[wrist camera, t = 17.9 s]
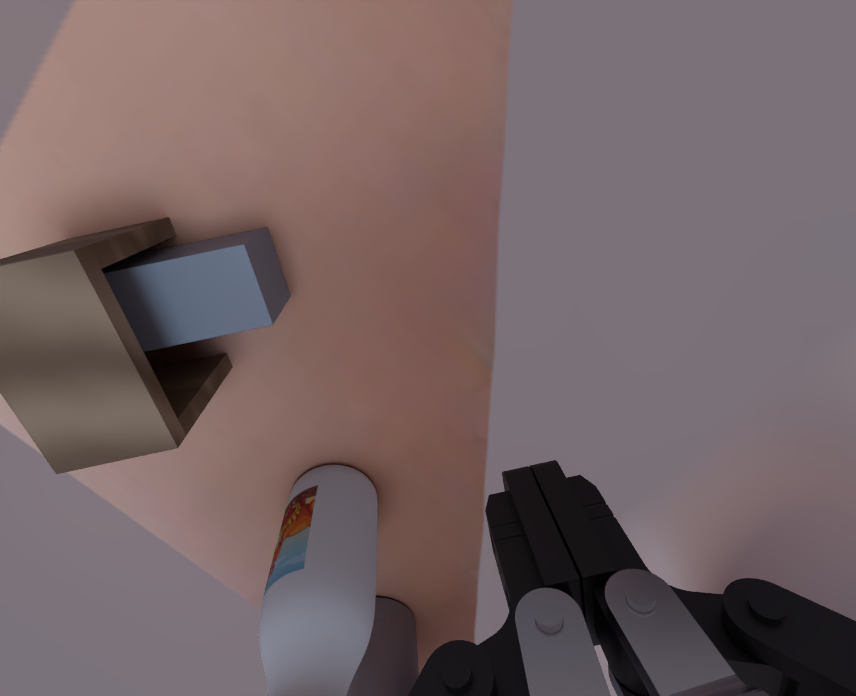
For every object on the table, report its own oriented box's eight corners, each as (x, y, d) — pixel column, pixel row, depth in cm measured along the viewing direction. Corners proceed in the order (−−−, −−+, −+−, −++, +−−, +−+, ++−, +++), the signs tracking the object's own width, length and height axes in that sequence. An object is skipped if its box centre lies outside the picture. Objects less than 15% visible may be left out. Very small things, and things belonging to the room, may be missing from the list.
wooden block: (232, 367, 35) (177, 448, 26) (143, 386, 35) (56, 474, 26) (168, 217, 30) (73, 250, 21) (65, 239, 30) (-76, 282, 21)
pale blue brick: (290, 295, 33) (272, 324, 28) (129, 328, 33) (80, 365, 28) (268, 226, 31) (244, 244, 26) (96, 262, 31) (35, 287, 26)
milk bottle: (351, 448, 39) (324, 714, 21) (392, 508, 42) (399, 785, 24) (273, 483, 40) (181, 769, 22) (319, 539, 43) (271, 831, 25)
